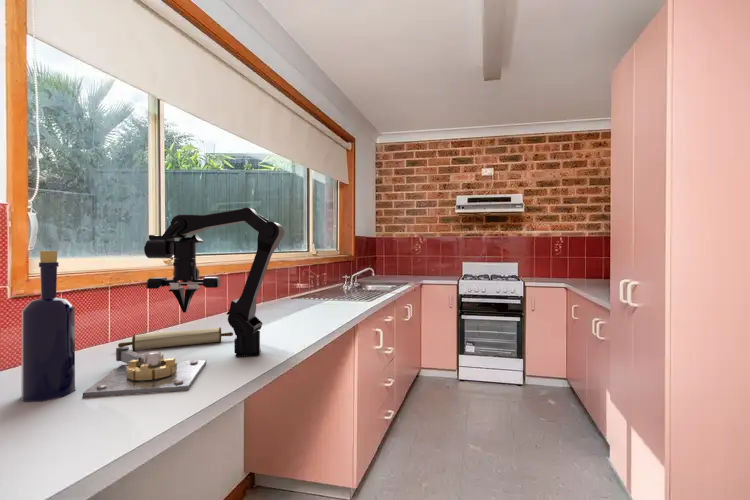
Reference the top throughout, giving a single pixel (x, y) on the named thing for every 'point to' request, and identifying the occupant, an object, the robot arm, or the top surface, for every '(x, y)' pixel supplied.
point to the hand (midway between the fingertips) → (184, 312)
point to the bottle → (48, 340)
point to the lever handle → (144, 365)
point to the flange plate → (122, 385)
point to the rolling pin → (175, 338)
